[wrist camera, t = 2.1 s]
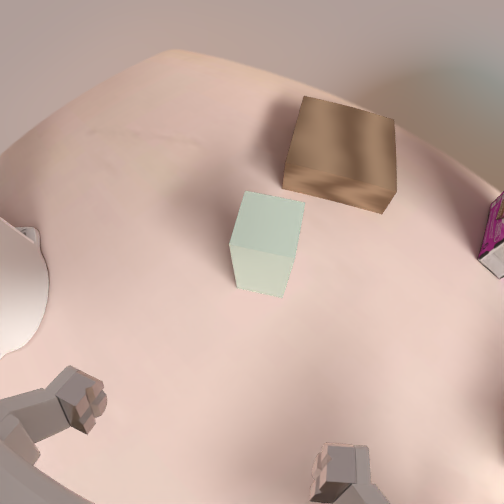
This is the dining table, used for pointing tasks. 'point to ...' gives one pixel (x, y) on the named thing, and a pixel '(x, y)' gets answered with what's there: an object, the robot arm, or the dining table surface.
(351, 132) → the walnut block
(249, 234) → the sage pillar
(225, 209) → the dining table surface
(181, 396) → the dining table surface
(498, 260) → the candy bar box
